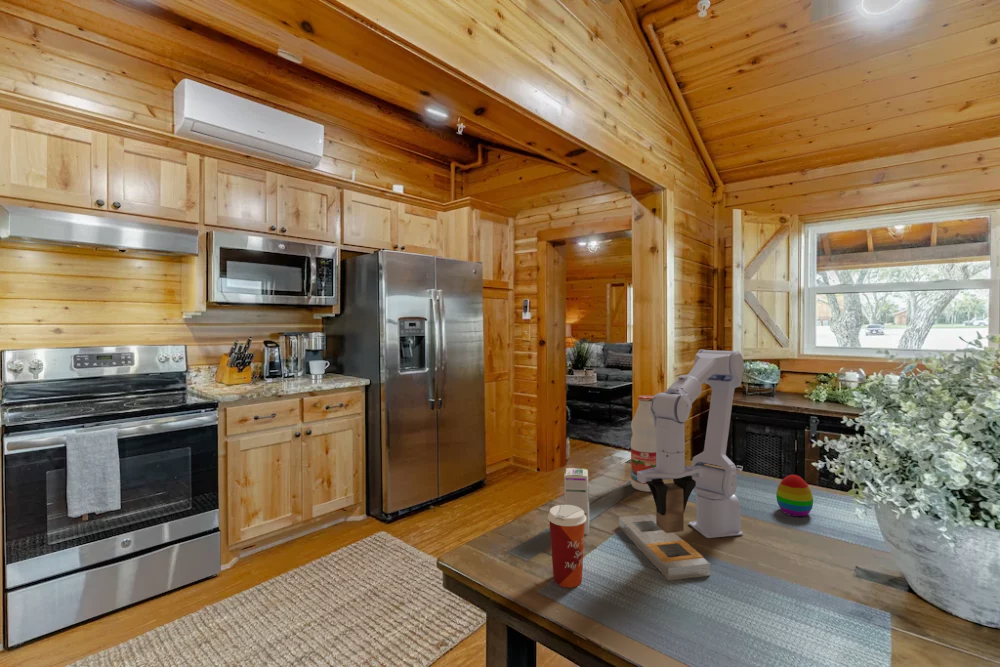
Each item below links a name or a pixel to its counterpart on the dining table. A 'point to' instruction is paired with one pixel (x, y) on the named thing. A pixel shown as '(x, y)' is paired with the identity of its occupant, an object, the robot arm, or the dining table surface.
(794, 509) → the decorative egg
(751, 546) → the dining table surface
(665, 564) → the grey rail
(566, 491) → the syrup box
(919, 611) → the dining table surface
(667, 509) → the walnut peg
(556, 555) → the paper cup
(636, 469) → the fruit juice
